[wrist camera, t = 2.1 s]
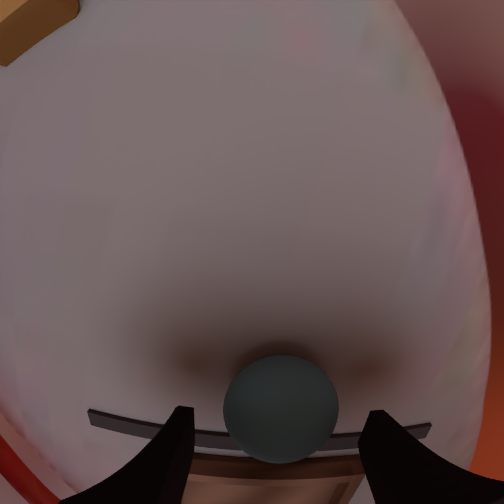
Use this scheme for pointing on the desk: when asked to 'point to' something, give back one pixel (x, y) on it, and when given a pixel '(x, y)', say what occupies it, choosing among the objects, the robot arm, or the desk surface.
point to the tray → (272, 480)
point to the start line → (224, 439)
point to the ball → (280, 409)
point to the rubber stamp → (30, 23)
